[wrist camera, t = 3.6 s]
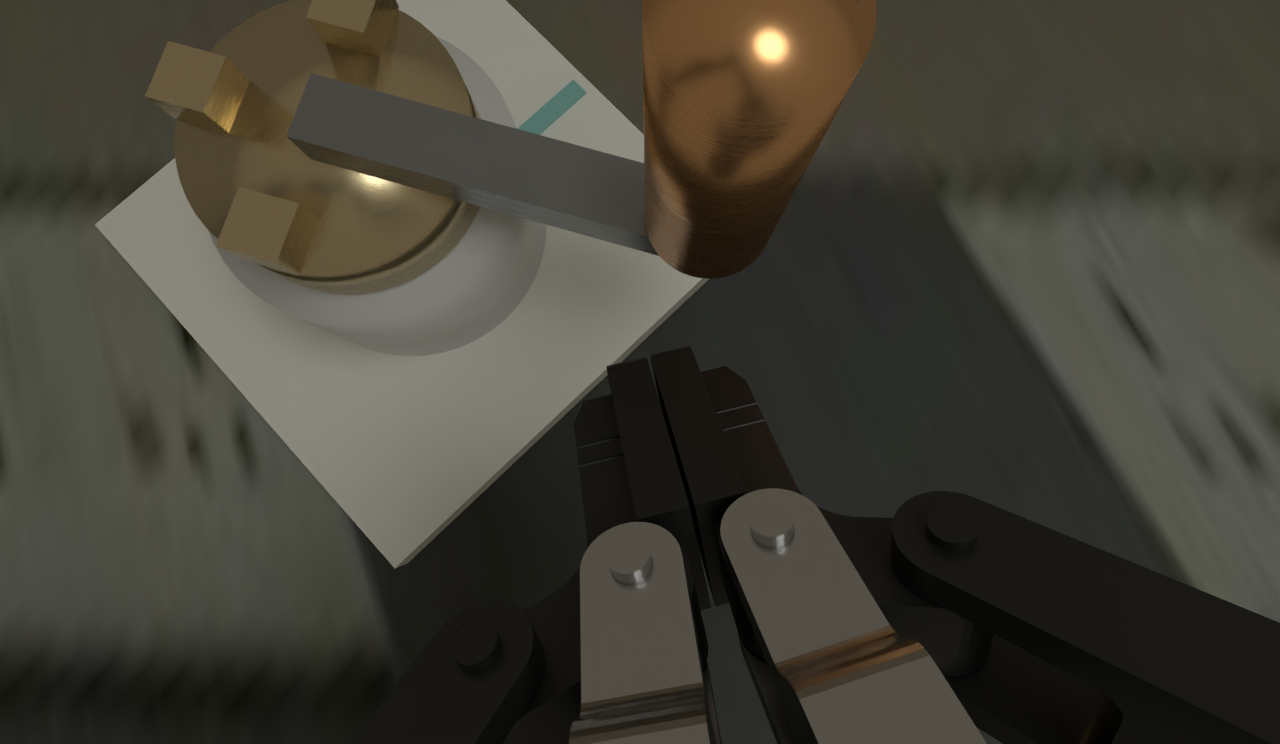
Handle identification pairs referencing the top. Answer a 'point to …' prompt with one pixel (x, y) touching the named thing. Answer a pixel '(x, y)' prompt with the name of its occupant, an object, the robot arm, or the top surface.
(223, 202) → the lever-handled chuck
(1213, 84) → the top surface
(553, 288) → the cylinder on square plate
